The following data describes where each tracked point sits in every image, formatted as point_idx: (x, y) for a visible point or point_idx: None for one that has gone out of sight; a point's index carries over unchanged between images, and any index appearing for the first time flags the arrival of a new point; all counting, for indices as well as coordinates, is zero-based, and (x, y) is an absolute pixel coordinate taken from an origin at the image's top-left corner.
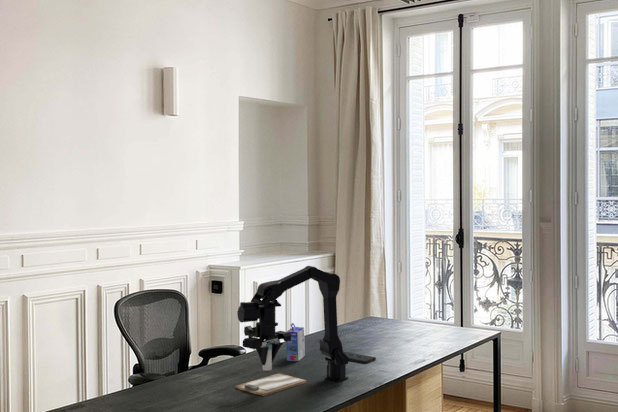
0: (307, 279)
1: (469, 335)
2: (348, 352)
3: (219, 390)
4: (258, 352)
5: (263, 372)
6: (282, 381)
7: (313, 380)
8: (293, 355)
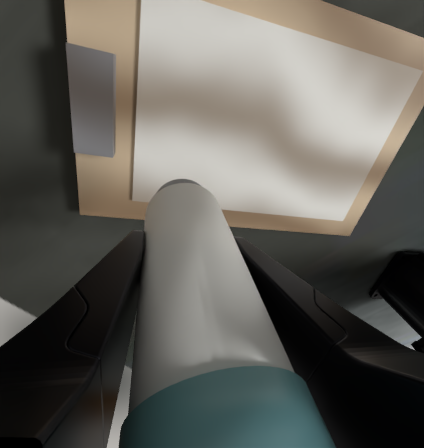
0: None
1: None
2: None
3: None
4: (24, 348)
5: (158, 191)
6: (298, 173)
7: (376, 233)
8: None
